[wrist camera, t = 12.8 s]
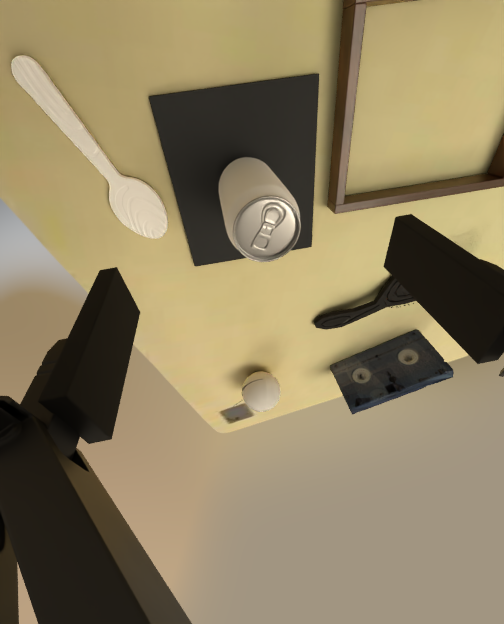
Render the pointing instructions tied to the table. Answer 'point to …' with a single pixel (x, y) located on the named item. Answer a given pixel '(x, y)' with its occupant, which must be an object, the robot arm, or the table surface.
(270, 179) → the can
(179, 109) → the mat
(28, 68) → the spoon
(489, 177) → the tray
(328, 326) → the hairbrush
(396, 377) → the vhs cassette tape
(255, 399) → the seamed sphere
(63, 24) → the table surface
